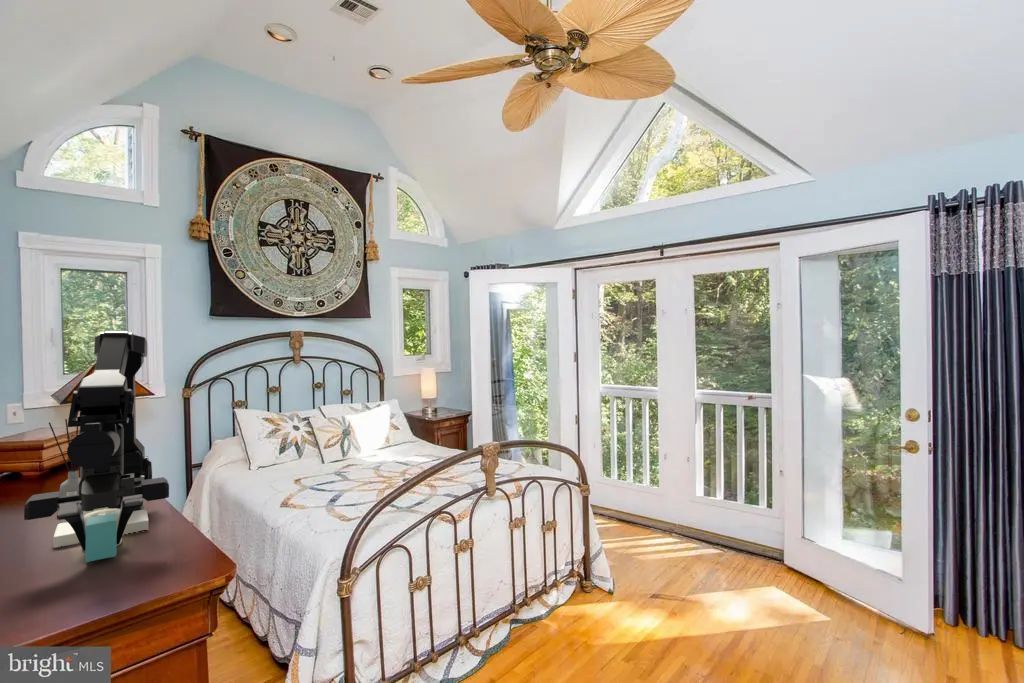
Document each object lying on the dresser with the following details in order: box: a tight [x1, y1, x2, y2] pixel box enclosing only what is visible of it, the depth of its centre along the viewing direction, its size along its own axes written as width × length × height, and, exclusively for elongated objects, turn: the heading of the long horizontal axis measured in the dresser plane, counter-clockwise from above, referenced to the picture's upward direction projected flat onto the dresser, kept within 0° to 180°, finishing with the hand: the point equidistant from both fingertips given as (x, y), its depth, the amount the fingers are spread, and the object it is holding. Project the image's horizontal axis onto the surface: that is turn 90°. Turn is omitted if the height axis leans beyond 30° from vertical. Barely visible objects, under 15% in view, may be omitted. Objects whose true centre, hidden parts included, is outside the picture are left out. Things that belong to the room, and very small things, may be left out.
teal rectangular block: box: [84, 513, 118, 563], centre depth 85 cm, size 5×4×6 cm
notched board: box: [52, 508, 149, 549], centre depth 98 cm, size 9×14×2 cm, turn 129°
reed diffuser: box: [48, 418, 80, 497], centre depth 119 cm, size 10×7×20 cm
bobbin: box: [81, 508, 123, 553], centre depth 91 cm, size 6×6×6 cm
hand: (101, 546), depth 85 cm, fingers closed on teal rectangular block, 4 cm apart
